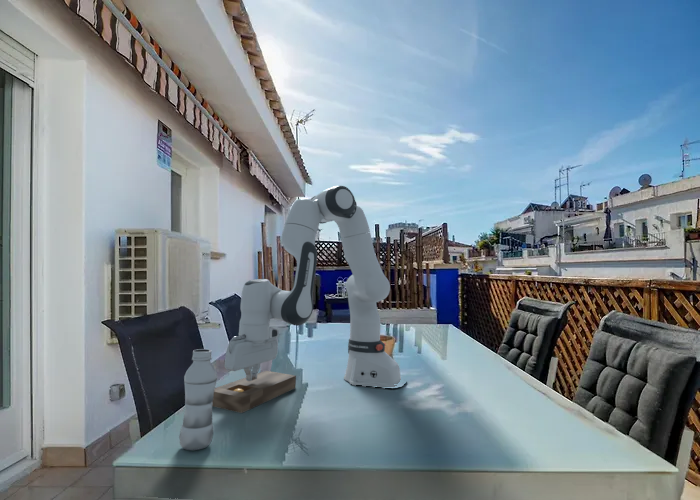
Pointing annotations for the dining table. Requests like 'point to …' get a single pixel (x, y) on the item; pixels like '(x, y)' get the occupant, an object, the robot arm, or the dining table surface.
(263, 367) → the smoothie
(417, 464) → the dining table surface
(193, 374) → the plastic bottle
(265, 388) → the brown wooden holder
